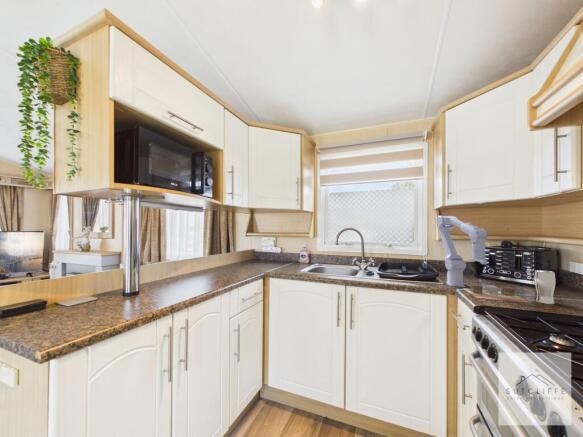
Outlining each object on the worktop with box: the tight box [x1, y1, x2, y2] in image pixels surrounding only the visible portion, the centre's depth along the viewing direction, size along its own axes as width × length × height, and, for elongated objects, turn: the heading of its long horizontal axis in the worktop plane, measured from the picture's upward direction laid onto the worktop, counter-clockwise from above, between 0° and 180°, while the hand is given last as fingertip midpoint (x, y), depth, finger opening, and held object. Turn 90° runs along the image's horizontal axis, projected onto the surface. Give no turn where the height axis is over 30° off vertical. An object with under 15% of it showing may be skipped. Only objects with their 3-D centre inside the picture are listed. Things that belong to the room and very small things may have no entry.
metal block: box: [484, 284, 499, 295], centre depth 128 cm, size 4×4×4 cm
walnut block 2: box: [500, 285, 516, 296], centre depth 126 cm, size 4×4×4 cm
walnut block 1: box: [469, 283, 483, 294], centre depth 130 cm, size 4×4×4 cm
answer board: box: [462, 287, 530, 303], centre depth 127 cm, size 20×22×1 cm
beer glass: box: [533, 269, 556, 305], centre depth 115 cm, size 7×7×15 cm
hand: (478, 275), depth 131 cm, fingers closed
